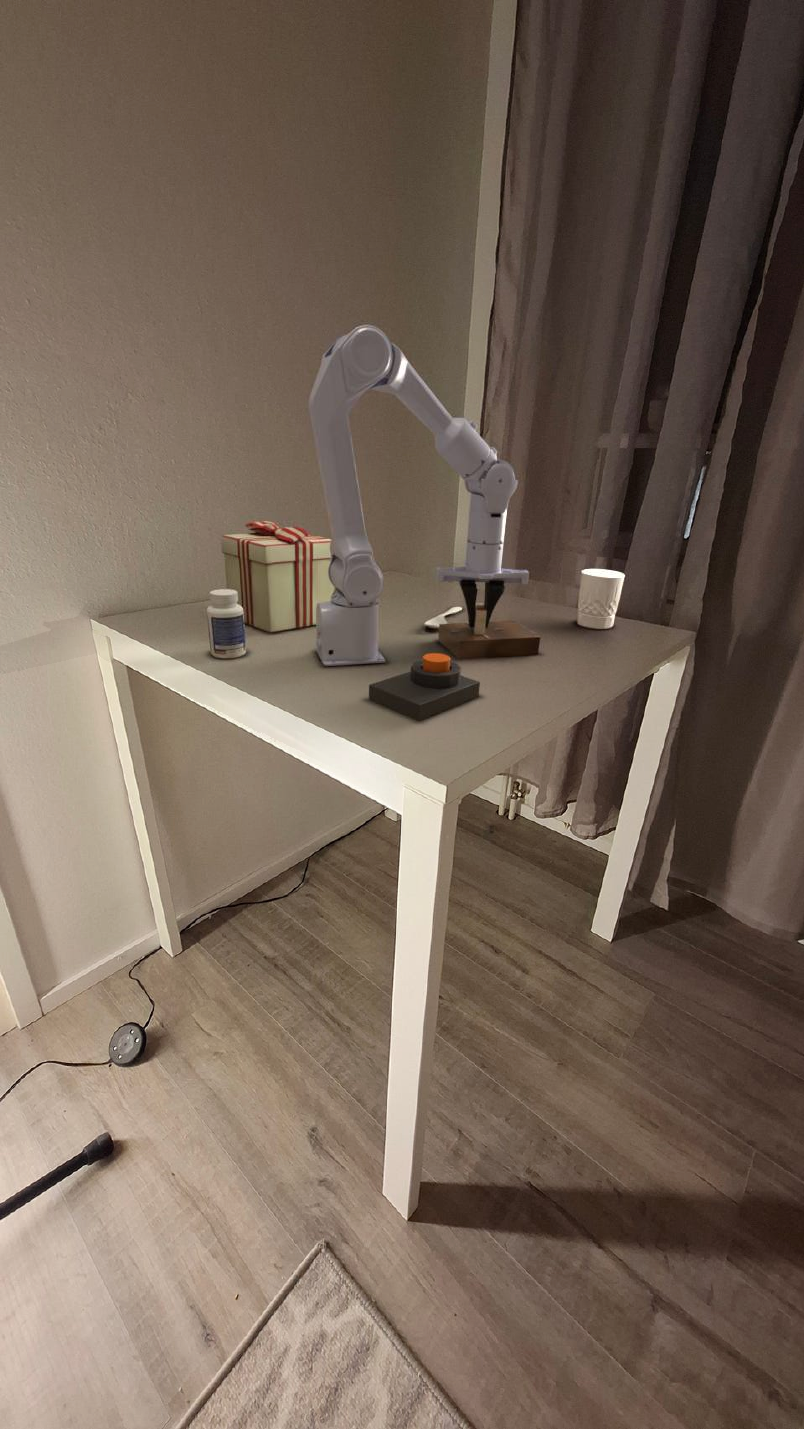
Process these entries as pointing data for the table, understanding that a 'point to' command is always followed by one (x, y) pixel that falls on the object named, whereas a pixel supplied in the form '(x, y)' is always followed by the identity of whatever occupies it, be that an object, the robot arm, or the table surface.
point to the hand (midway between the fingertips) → (477, 626)
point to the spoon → (441, 618)
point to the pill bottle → (226, 624)
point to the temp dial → (479, 619)
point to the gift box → (278, 575)
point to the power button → (436, 662)
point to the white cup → (599, 597)
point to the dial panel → (489, 640)
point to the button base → (424, 691)
